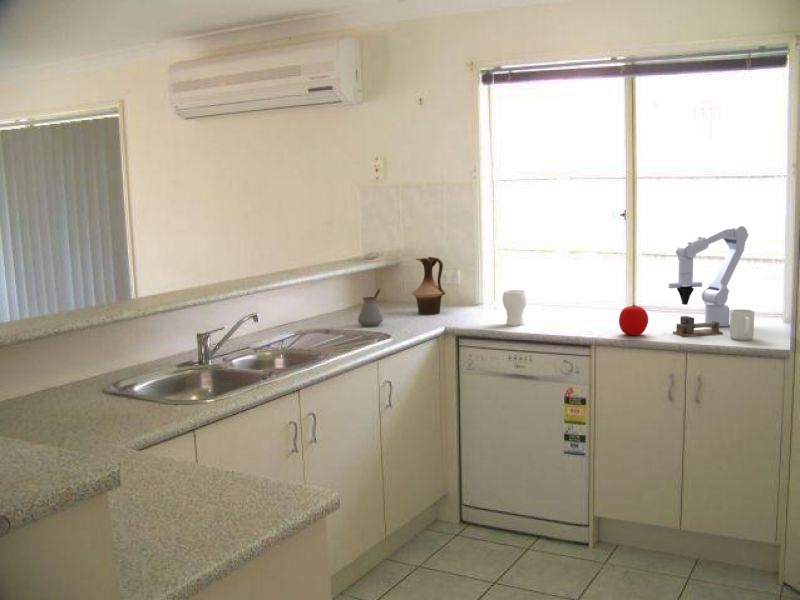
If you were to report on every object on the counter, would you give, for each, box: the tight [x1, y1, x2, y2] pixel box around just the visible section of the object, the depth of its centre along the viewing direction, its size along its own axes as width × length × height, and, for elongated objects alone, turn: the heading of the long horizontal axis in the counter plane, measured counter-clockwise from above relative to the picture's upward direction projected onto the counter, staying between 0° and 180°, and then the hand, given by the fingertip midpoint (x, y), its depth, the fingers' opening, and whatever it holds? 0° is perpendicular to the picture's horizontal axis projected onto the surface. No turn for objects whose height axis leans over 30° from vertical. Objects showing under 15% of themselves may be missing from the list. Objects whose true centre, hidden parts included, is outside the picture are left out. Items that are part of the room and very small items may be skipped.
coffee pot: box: [357, 288, 384, 328], centre depth 394 cm, size 21×12×15 cm, turn 163°
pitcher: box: [411, 256, 447, 316], centre depth 417 cm, size 18×17×28 cm
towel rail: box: [672, 321, 724, 338], centre depth 351 cm, size 18×8×4 cm, turn 102°
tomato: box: [618, 304, 649, 336], centre depth 352 cm, size 12×12×13 cm
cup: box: [502, 289, 528, 327], centre depth 382 cm, size 11×11×15 cm
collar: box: [679, 315, 695, 333], centre depth 349 cm, size 3×5×6 cm, turn 12°
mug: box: [729, 308, 755, 341], centre depth 337 cm, size 12×9×11 cm
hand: (684, 304), depth 361 cm, fingers closed
